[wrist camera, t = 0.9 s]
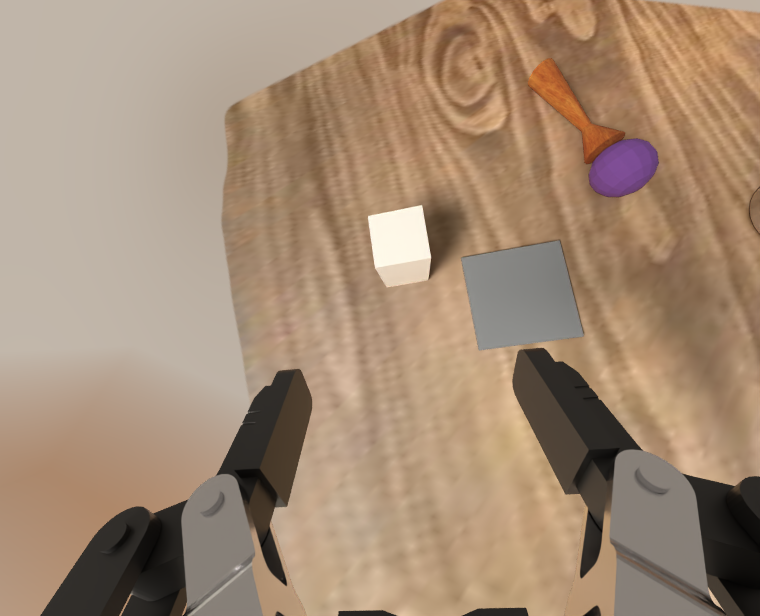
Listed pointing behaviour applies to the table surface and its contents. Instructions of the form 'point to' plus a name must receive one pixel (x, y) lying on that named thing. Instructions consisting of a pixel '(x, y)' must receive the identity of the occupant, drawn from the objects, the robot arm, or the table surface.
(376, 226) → the cover
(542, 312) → the mat
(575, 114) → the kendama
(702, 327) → the table surface
